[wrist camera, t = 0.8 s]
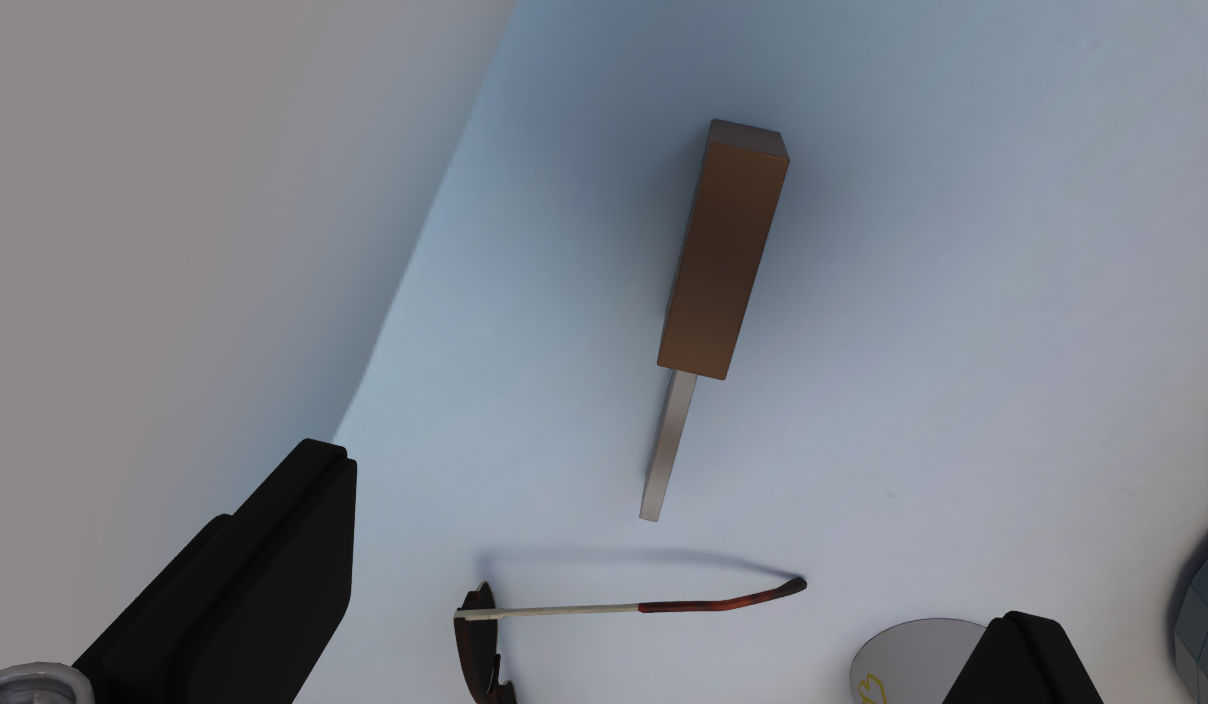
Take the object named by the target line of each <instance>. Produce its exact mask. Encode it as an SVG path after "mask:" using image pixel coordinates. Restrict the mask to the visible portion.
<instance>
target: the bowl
mask: <svg viewBox="0 0 1208 704" xmlns="http://www.w3.org/2000/svg"><path fill="white" fill-rule="evenodd" d="M1174 637H1175V653H1176V669H1177V672H1178V676H1179V677H1180V679H1181V681H1182V683H1183V685H1184V687H1185V689H1186V691H1187V693H1188V695H1189V697H1190V698H1191V700H1192V702H1193V704H1208V559H1207V560H1206V562H1205V563H1204V564H1203V566H1202V567H1201V568H1200V570H1199V571H1198V573H1197V574H1196V575H1195V577H1194V578H1193V579H1192V581H1191V584H1189V587H1188V590H1187V593H1186V596H1185V599H1184V602H1183V605H1182V607H1181V610H1180V613H1179V616H1178V619H1177V622H1176V625H1175V629H1174Z"/></svg>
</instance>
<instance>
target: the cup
mask: <svg viewBox="0 0 1208 704" xmlns="http://www.w3.org/2000/svg"><path fill="white" fill-rule="evenodd" d="M985 630H986V628H984V627H982V626H979V625H976V624H973V623H969V622H965V621H960V620H952V619H926V620H918V621H913V622H908V623H905V624H901V625H898V626H895V627H893V628H891V629H888V630H886V631H884V632H882V633H881V634H879V635H877V636H876V637H874V638H873V639H872V640H870V641H869V642H868V643H867V644H866V645H865V646H864V647H863V648H862V649H861V650H860V651H859V653H858V654H857V656H856V658H855V659H854V662H853V664H852V667H851V672H850V684H851V690H852V696H853V701H854V704H942V702H943V701H944V699H945V697H946V696H947V694H948V692H949V691H950V689H951V687H952V686H953V684H954V682H955V680H956V679H957V677H958V675H959V674H960V672H961V670H962V669H963V667H964V665H965V664H966V662H967V660H968V659H969V657H970V655H971V653H972V652H973V650H974V648H975V647H976V645H977V643H978V642H979V640H980V638H981V637H982V635H983V633H984V632H985Z"/></svg>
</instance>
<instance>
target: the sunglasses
mask: <svg viewBox="0 0 1208 704" xmlns="http://www.w3.org/2000/svg"><path fill="white" fill-rule="evenodd" d="M806 587H807V582H806V581H805V580H803V579H802V578H801V577H797V578H795V579H793V580H790V581H788V582H787V583H785V584H783V585H782V586H780V587H778V588H776V589H772V590H768V591H764V592H760V593H756V594H752V595H747V596H743V597H738V598H734V599H730V600H723V601H673V602H649V603H636V604H622V605H593V606H568V607H545V608H525V609H504V608H501V609H497V607H496V602H495V598H494V595H493V592H492V589H491V587H490V585H489V583H488V582H487V581H483V582H482V583H481V584H480V585H479V587H478V589H477V590H476V591H469V592H468V594H467V596H466V598H465V601H464V603H463V606H462V608H457V611H455V613H454V616H453V620H454V628H455V635H456V642H457V647H458V653H459V657H460V662H461V667H462V671H463V674H464V677H465V681H466V683H467V686H468V689H469V691H470V693H471V695H472V697H473V699H474V700H475V702H476V703H477V704H518V702H517V696H516V691H515V688H514V684H513V682H512V680H506V681H505V682H504V684H503V685H499V682H498V677H499V669H500V660H501V656H500V654H496V653H497V643H498V619H503V617H507V616H526V615H545V614H568V613H602V612H628V611H640V612H642V613H655V612H685V611H726V610H731V609H736V608H740V607H745V606H749V605H753V604H758V603H762V602H765V601H769V600H773V599H777V598H781V597H785V596H788V595H792V594H795V593H798V592H800V591H802V590H804V589H806Z"/></svg>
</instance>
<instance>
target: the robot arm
mask: <svg viewBox="0 0 1208 704" xmlns="http://www.w3.org/2000/svg"><path fill="white" fill-rule="evenodd" d="M356 483H357V463H356V461H355V460H353V459H349V458H347V451H346V448H344V447H342V446H338V445H334V444H330V443H326V442H322V441H317V440H313V439H309V438H307V439H304V440H302V441H301V442H300V443H299V444H298V445H297V446H296V447H295V448H294V449H293V450H292V452H291V453H290V454H289V455H288V456H287V457H286V458H285V459H284V460H283V461H282V462H281V463H280V465H279V466H278V467H277V468H276V469H275V470H274V471H273V472H272V473H271V474H270V475H269V476H268V477H267V479H266V480H265V481H264V482H263V483H262V484H261V485H260V486H259V487H258V488H257V489H256V490H255V492H254V493H253V494H252V495H251V496H250V497H249V498H248V499H247V500H246V501H245V502H244V503H243V504H242V506H241V507H240V508H239V509H238V510H237V511H236V512H235V513H234V514H233V515H228V514H221V515H219V516H216V517H215V518H214V519H212V520H211V521H210V522H209V523H208V524H207V525H206V526H205V527H204V528H203V529H202V530H201V531H200V532H199V533H198V534H197V535H196V536H195V537H194V538H193V539H192V540H191V541H190V542H189V544H187V546H186V547H185V548H184V549H183V550H182V551H181V552H180V553H179V554H178V555H177V556H176V557H175V558H174V559H173V560H172V561H171V562H170V563H169V564H168V565H167V566H166V567H165V569H164V570H163V571H162V572H161V573H160V574H159V575H158V576H157V577H156V578H155V579H154V580H153V581H152V582H151V583H150V584H149V585H148V586H147V587H146V588H145V589H144V590H143V592H142V593H141V594H140V595H139V596H138V597H137V598H136V599H135V600H134V601H133V602H132V603H131V604H130V605H129V606H128V607H127V608H126V609H125V610H124V611H123V612H122V613H121V614H120V615H119V617H118V618H117V619H116V620H115V621H114V622H113V623H112V624H111V625H110V626H109V627H108V628H107V629H106V630H105V631H104V632H103V633H102V634H101V635H100V636H99V637H98V638H97V640H96V641H95V642H94V643H93V644H92V645H91V646H90V647H89V648H88V649H87V650H86V651H85V652H84V653H83V654H82V655H81V656H80V657H79V659H77V660H76V661H75V662H74V664H73V665H72V666H71V667H70V666H67V665H64V664H61V663H50V662H34V663H28V664H22V665H16V666H11V667H8V668H6V669H3V670H0V704H292V702H293V701H294V699H295V697H296V696H297V694H298V692H299V691H300V689H301V687H302V686H303V684H304V682H305V681H306V679H307V677H308V676H309V674H310V672H311V671H312V669H313V667H314V666H315V664H316V662H317V661H318V659H319V657H320V656H321V654H322V652H323V651H324V649H325V647H326V646H327V644H328V642H329V641H330V639H331V637H332V636H333V634H334V632H335V631H336V629H337V627H338V625H339V624H340V622H341V620H342V619H343V617H344V615H345V612H346V610H347V607H348V604H349V601H350V597H351V584H352V564H353V544H354V524H355V504H356ZM942 704H1104V703H1103V701H1102V699H1101V697H1100V696H1099V694H1098V692H1097V690H1096V688H1095V686H1094V685H1093V683H1092V681H1091V679H1090V677H1089V675H1088V673H1087V672H1086V670H1085V668H1084V666H1083V664H1082V662H1081V661H1080V659H1079V657H1078V655H1077V653H1076V651H1075V649H1074V648H1073V646H1072V644H1071V642H1070V640H1069V638H1068V636H1067V635H1066V633H1065V631H1064V629H1063V628H1062V627H1061V625H1060V624H1059V623H1058V622H1056V621H1054V620H1051V619H1047V618H1043V617H1039V616H1035V615H1031V614H1027V613H1023V612H1018V611H1010V612H1008V613H1006V614H1005V615H1004V617H1003V618H994V619H993V620H992V621H991V622H990V623H989V625H988V626H987V628H986V630H985V632H984V633H983V635H982V637H981V638H980V640H979V642H978V643H977V645H976V647H975V648H974V650H973V652H972V653H971V655H970V657H969V659H968V660H967V662H966V664H965V665H964V667H963V669H962V670H961V672H960V674H959V675H958V677H957V679H956V680H955V682H954V684H953V686H952V687H951V689H950V691H949V692H948V694H947V696H946V697H945V699H944V701H943V702H942Z"/></svg>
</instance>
